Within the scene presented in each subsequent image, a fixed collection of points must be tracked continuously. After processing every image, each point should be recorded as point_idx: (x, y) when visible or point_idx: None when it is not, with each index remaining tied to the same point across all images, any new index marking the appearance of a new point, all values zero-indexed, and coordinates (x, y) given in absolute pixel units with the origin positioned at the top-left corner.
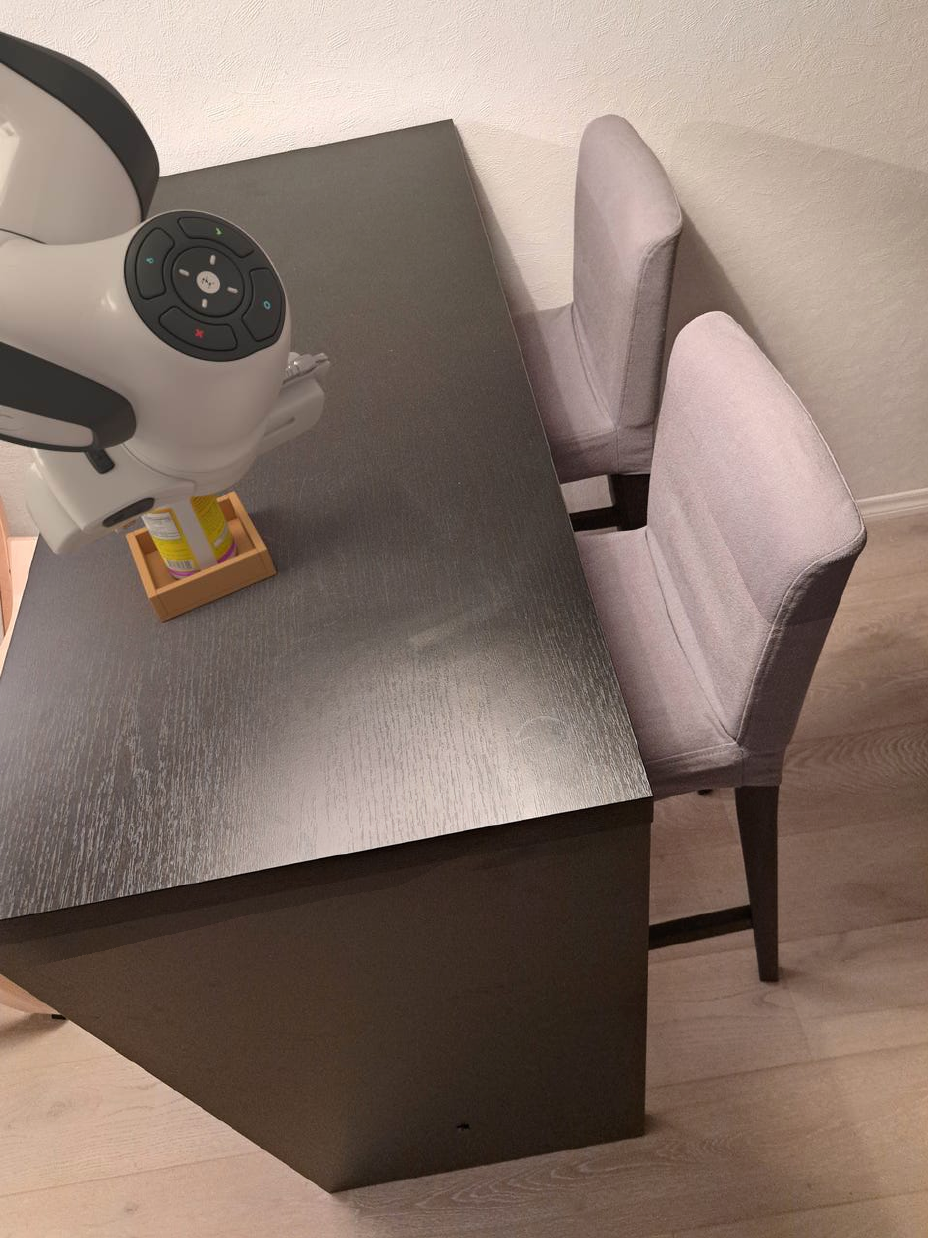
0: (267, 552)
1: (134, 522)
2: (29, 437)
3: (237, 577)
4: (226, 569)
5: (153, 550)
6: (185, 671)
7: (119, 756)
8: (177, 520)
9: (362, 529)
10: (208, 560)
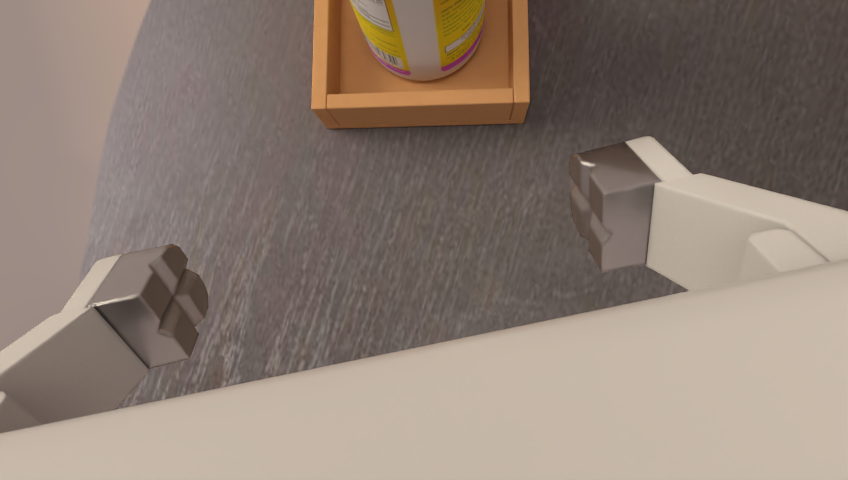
0: (527, 105)
1: (200, 319)
2: None
3: (461, 116)
4: (449, 107)
5: None
6: (332, 258)
7: (207, 370)
8: (393, 9)
9: (693, 97)
10: (427, 66)
